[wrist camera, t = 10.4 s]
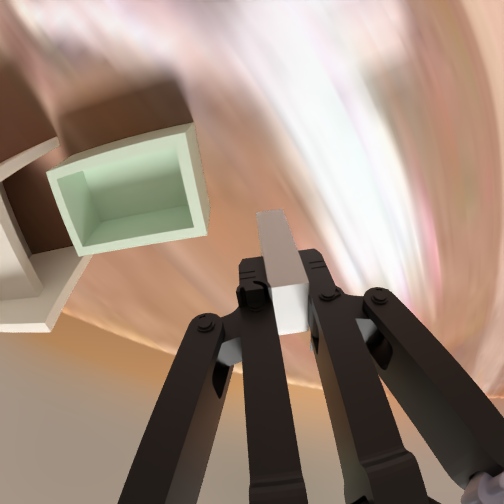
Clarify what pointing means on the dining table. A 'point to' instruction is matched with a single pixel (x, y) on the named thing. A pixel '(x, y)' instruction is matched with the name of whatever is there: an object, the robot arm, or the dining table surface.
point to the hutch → (32, 264)
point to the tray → (133, 191)
